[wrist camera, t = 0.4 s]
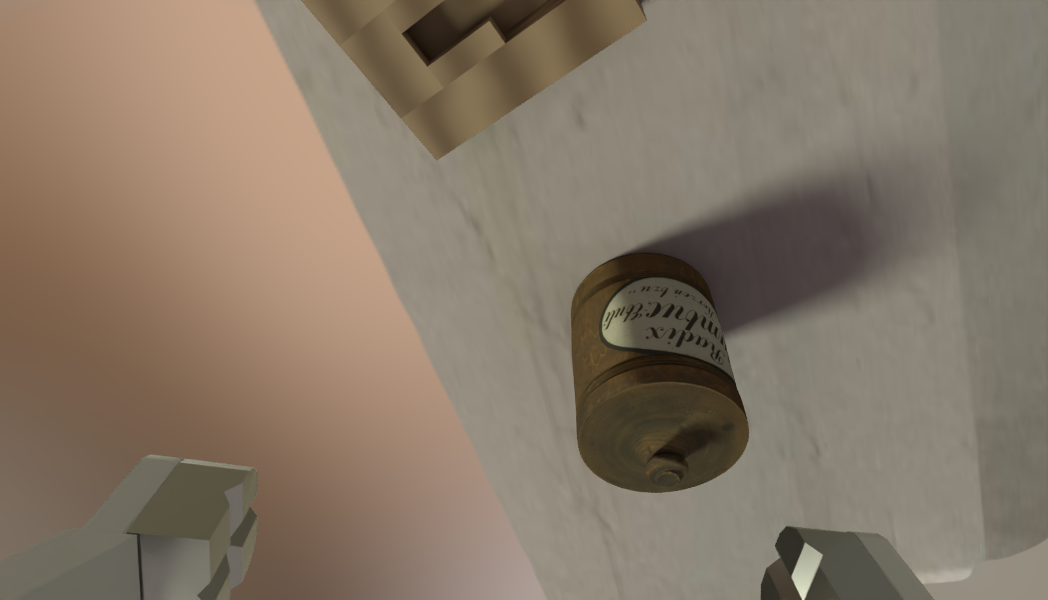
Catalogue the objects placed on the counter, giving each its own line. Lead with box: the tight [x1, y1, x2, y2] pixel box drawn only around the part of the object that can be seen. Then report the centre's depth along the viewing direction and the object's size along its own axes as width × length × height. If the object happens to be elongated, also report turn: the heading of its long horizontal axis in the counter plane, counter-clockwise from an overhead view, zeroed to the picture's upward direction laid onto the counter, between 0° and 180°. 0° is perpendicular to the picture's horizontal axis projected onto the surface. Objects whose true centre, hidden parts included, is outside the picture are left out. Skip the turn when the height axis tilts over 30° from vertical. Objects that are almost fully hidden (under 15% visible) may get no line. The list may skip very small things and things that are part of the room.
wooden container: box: [571, 254, 749, 493], centre depth 62 cm, size 15×15×22 cm
